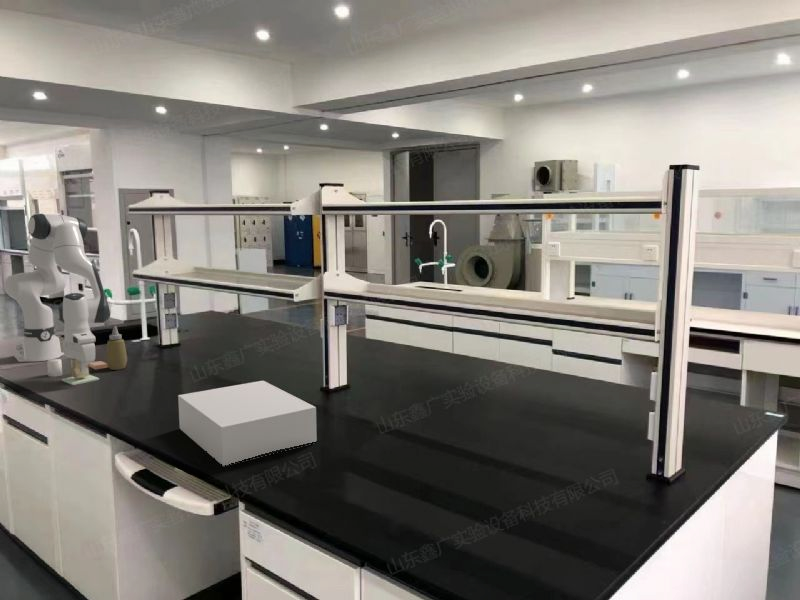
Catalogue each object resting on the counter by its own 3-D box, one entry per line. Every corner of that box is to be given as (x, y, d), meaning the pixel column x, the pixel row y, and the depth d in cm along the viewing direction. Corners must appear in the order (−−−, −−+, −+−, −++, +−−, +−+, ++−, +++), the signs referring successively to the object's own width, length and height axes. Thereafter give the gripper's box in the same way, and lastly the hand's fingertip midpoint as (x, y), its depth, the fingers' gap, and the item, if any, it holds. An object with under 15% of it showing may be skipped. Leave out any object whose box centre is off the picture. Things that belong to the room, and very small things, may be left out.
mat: (61, 380, 240) (61, 379, 240) (88, 375, 247) (87, 374, 247) (72, 385, 233) (72, 383, 233) (99, 379, 241) (99, 378, 241)
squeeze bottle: (102, 369, 257) (99, 327, 254) (119, 365, 264) (116, 324, 261) (115, 371, 253) (112, 328, 251) (132, 367, 260) (129, 325, 258)
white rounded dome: (46, 375, 248) (45, 360, 247) (59, 372, 252) (58, 358, 251) (51, 377, 245) (50, 362, 244) (64, 374, 248) (63, 360, 248)
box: (264, 412, 203) (263, 380, 202) (316, 443, 176) (316, 407, 174) (179, 429, 187) (178, 395, 185) (223, 467, 159) (221, 427, 158)
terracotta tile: (88, 367, 262) (88, 363, 261) (100, 365, 265) (100, 361, 265) (95, 370, 257) (95, 365, 257) (107, 368, 261) (107, 363, 260)
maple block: (71, 376, 240) (70, 358, 239) (83, 374, 243) (82, 356, 242) (77, 378, 237) (75, 360, 236) (88, 376, 240) (87, 358, 239)
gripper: (57, 333, 242) (60, 367, 244) (80, 340, 229) (83, 376, 231) (74, 331, 247) (76, 364, 249) (97, 337, 234) (100, 373, 236)
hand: (79, 370), depth 240 cm, fingers closed on maple block, 4 cm apart
